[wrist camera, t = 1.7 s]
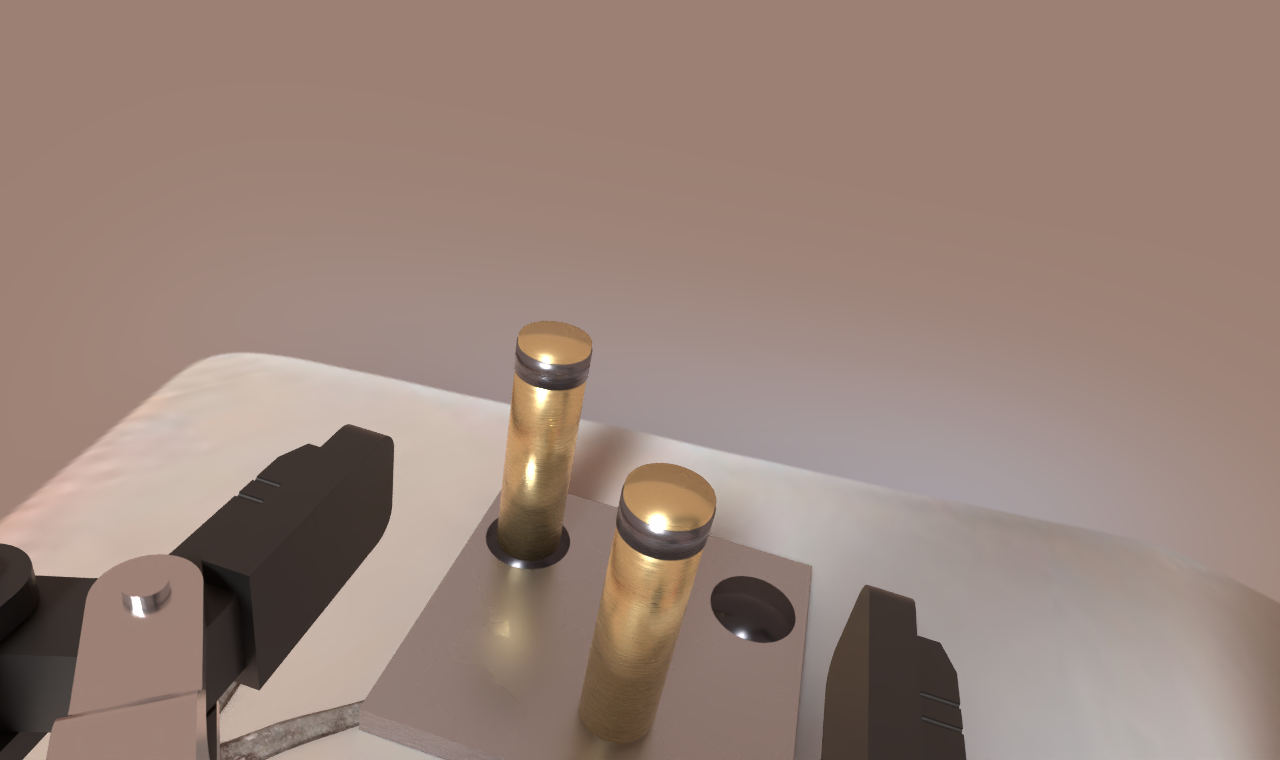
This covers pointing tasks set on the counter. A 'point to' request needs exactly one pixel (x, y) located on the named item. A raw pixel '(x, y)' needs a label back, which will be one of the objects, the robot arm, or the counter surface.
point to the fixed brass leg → (542, 437)
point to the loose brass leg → (644, 598)
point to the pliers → (287, 731)
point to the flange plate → (560, 646)
